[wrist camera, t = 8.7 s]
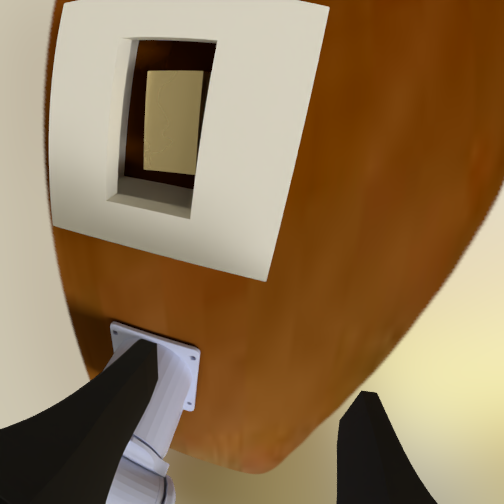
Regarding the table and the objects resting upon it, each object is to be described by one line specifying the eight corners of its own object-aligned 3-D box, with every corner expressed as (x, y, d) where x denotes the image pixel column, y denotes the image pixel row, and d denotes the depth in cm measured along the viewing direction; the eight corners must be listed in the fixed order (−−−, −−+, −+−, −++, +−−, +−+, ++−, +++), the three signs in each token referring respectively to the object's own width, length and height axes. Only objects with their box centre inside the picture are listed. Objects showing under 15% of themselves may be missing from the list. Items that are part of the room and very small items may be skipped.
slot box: (278, 225, 19) (265, 281, 13) (110, 188, 19) (53, 225, 14) (321, 36, 13) (329, 7, 8) (128, 19, 14) (64, 3, 9)
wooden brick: (220, 154, 17) (195, 175, 13) (179, 150, 18) (143, 169, 14) (228, 75, 15) (203, 70, 11) (184, 73, 15) (147, 70, 11)
